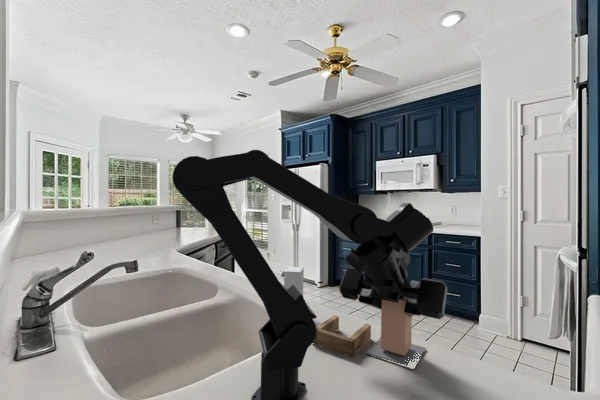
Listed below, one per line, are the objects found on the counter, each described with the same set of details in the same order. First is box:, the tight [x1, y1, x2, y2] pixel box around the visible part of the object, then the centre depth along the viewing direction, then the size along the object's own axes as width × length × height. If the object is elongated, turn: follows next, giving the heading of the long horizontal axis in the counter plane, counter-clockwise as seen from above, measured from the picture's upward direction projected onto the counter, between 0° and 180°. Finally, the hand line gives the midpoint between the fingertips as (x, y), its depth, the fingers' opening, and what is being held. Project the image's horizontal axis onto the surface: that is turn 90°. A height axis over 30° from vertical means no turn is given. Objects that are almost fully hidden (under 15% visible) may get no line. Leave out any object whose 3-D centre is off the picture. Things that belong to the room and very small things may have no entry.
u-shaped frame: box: [313, 314, 372, 358], centre depth 63 cm, size 10×9×3 cm
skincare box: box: [283, 266, 305, 296], centre depth 77 cm, size 6×4×12 cm
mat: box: [365, 336, 427, 366], centre depth 59 cm, size 9×9×1 cm
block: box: [380, 299, 413, 356], centre depth 59 cm, size 5×5×12 cm
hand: (398, 312), depth 60 cm, fingers closed on block, 4 cm apart
